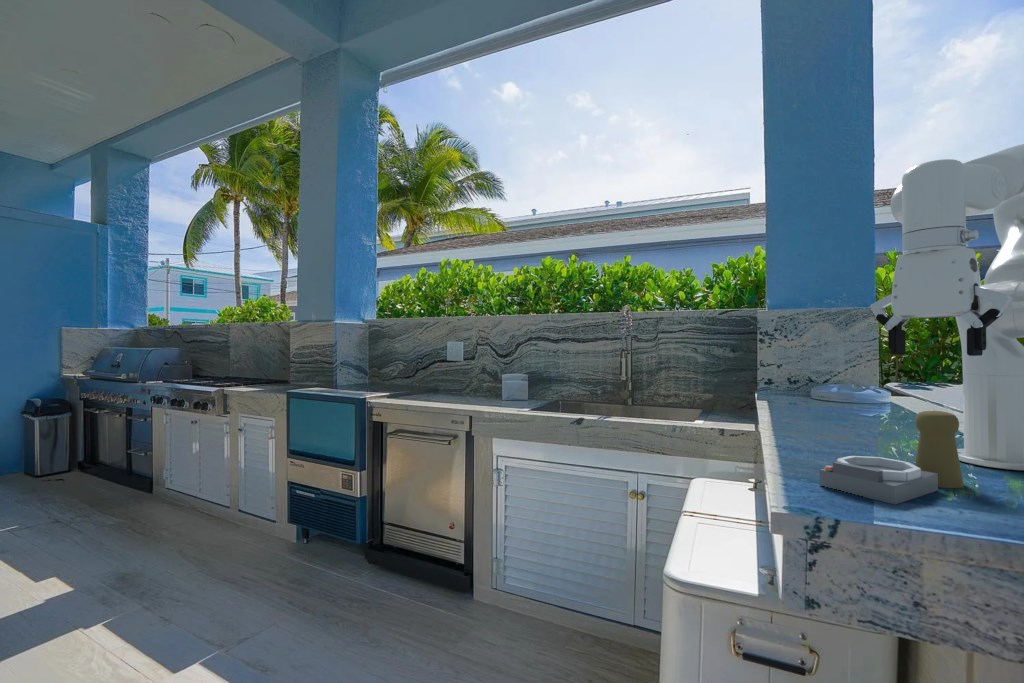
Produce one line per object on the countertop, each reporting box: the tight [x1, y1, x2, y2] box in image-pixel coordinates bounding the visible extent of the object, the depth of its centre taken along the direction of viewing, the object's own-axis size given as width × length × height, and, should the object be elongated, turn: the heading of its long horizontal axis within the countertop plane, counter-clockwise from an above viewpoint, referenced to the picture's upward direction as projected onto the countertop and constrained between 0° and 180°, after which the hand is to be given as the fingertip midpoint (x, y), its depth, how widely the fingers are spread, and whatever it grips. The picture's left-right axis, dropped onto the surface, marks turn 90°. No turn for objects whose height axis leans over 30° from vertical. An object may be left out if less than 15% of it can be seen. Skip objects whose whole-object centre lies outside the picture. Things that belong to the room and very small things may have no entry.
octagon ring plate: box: [819, 455, 939, 505], centre depth 74 cm, size 12×10×4 cm
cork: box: [914, 410, 965, 489], centre depth 76 cm, size 6×6×11 cm
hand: (934, 354), depth 76 cm, fingers open, 9 cm apart
